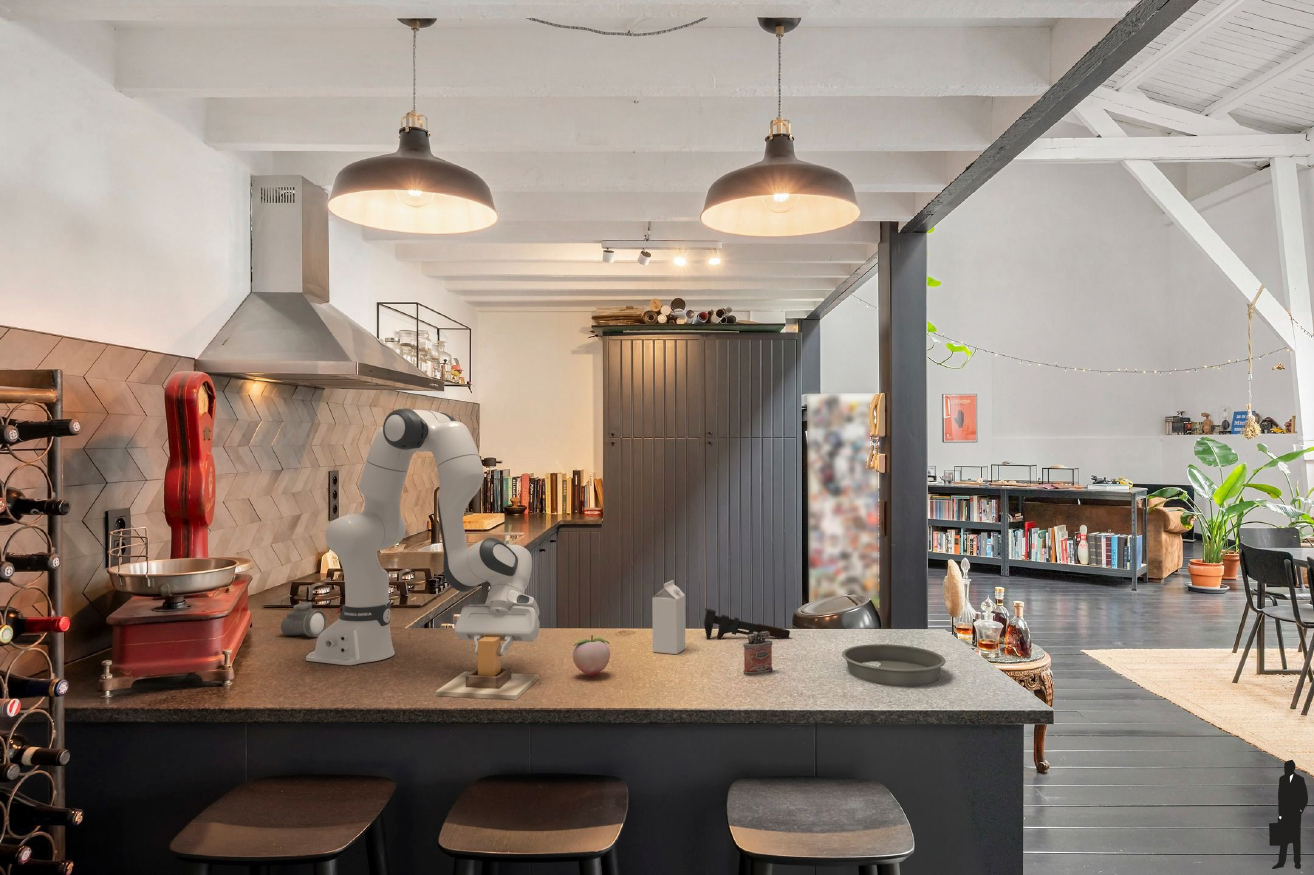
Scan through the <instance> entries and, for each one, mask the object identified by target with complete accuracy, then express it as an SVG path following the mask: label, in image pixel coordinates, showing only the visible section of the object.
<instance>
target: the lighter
mask: <svg viewBox="0 0 1314 875" xmlns="http://www.w3.org/2000/svg"><path fill="white" fill-rule="evenodd" d="M770 637H771V636H770V635H769V632H768V631H766V632H760V633H757V632H753V634H749V635H747V640H748V642H744V643H743V644H742V645H743V649H744V650H743V652H744V653H743V658H744V659H743V660H744V661H743V664H744V665H743V666H744V668H743V669H744V670H743V675H744V676H747V677H753V676H762V675H766V674H767V675H768V674H771V673H773V671H774V670H773V662H772V660H773V654H772V653H773V648H772V647H773V641H772V640H770V639H766V638H770Z"/></svg>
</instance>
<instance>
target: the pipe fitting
mask: <svg viewBox="0 0 1314 875" xmlns="http://www.w3.org/2000/svg"><path fill="white" fill-rule="evenodd" d="M312 608H313V602H311V601H306V602H301V603H297V604H296V605H293V610H292V611H289V612H287V614H286V616H285V617H284V618H283V619H282V620H281V623H280V631H281V633H282V634H283V635H284V636H287V637H290V636H302V635H304V636H305V635H306V636H307V637H309V638H318V636H319V635H320V634H321V633H322V632H323V631H324V630H326V629H327V628H328V627H327V626H328V620H327V616H326V613H325V612H324V611H323V610H321V609H315V610H314V609H312Z"/></svg>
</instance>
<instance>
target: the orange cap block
mask: <svg viewBox="0 0 1314 875" xmlns="http://www.w3.org/2000/svg"><path fill="white" fill-rule="evenodd" d="M498 646H502V644H501V641H500V637H483V638H482V639H480V640H478V655H477V668H478V676H495V675H497V674H498V673H499V672H500V671H501V667H502V666H501V663H502V662H501V659H502V658H501V657H502V656H498V655H497V650H498Z"/></svg>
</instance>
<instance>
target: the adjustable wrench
mask: <svg viewBox="0 0 1314 875" xmlns="http://www.w3.org/2000/svg"><path fill="white" fill-rule="evenodd" d="M716 613H717V611H716V610H715V609H712V608H706V610H705V615H704V621H703V625H704V631H705V636H706V640H709V641H711V637H712V631H713V628H714V627H713V626H714V624H716V625H719V627H718V631H717V636H716V639H717V640H718V641H719V640H722V639H723V637H724V635H726V634H729V633H730V634H732V635H735V636H736V635H737V634H740V635H745V636H748V635H749V634H753V632H757V633H760V632H766V631H768V632H769V635H770V637H773V638H777V639H782V640H789V638H790V634H791V631H790V630H789V629H787V628H781V627H776V626H771V625H767V624H763V623H754V622H747V621H743V620H740V618H739V617H736V616H735V617H734V618H730V616H729V615H726V614H721V616H719V615H716Z"/></svg>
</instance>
